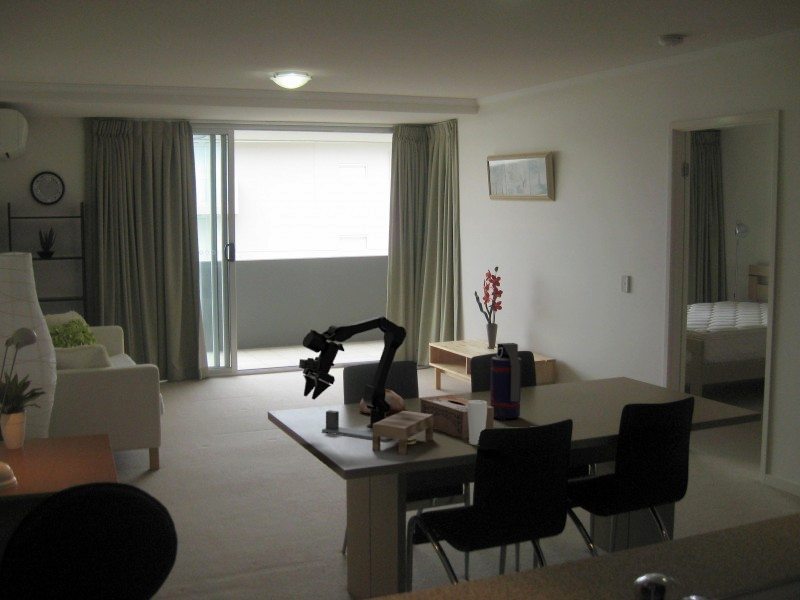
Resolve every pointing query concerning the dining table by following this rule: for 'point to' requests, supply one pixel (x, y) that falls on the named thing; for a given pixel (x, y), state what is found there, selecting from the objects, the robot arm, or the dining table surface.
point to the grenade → (506, 382)
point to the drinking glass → (476, 419)
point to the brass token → (411, 441)
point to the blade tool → (333, 427)
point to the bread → (391, 399)
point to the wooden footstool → (402, 428)
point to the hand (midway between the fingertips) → (308, 397)
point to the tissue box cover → (452, 414)
